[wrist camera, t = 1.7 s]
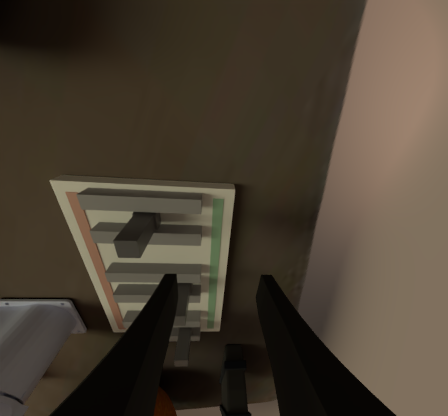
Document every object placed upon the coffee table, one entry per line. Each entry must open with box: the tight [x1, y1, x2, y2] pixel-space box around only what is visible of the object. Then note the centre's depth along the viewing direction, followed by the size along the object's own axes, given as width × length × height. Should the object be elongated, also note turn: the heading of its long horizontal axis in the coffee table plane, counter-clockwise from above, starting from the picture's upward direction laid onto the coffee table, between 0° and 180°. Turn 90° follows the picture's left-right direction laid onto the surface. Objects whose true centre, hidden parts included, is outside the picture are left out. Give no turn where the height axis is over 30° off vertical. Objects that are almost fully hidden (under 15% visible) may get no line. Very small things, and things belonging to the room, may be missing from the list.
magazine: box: [219, 345, 251, 416], centre depth 30 cm, size 4×13×15 cm, turn 175°
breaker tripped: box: [113, 212, 161, 258], centre depth 14 cm, size 2×2×5 cm
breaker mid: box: [173, 283, 193, 326], centre depth 19 cm, size 2×2×5 cm
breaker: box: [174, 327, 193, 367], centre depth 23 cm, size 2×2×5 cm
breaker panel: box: [49, 175, 235, 341], centre depth 21 cm, size 16×24×3 cm, turn 176°
